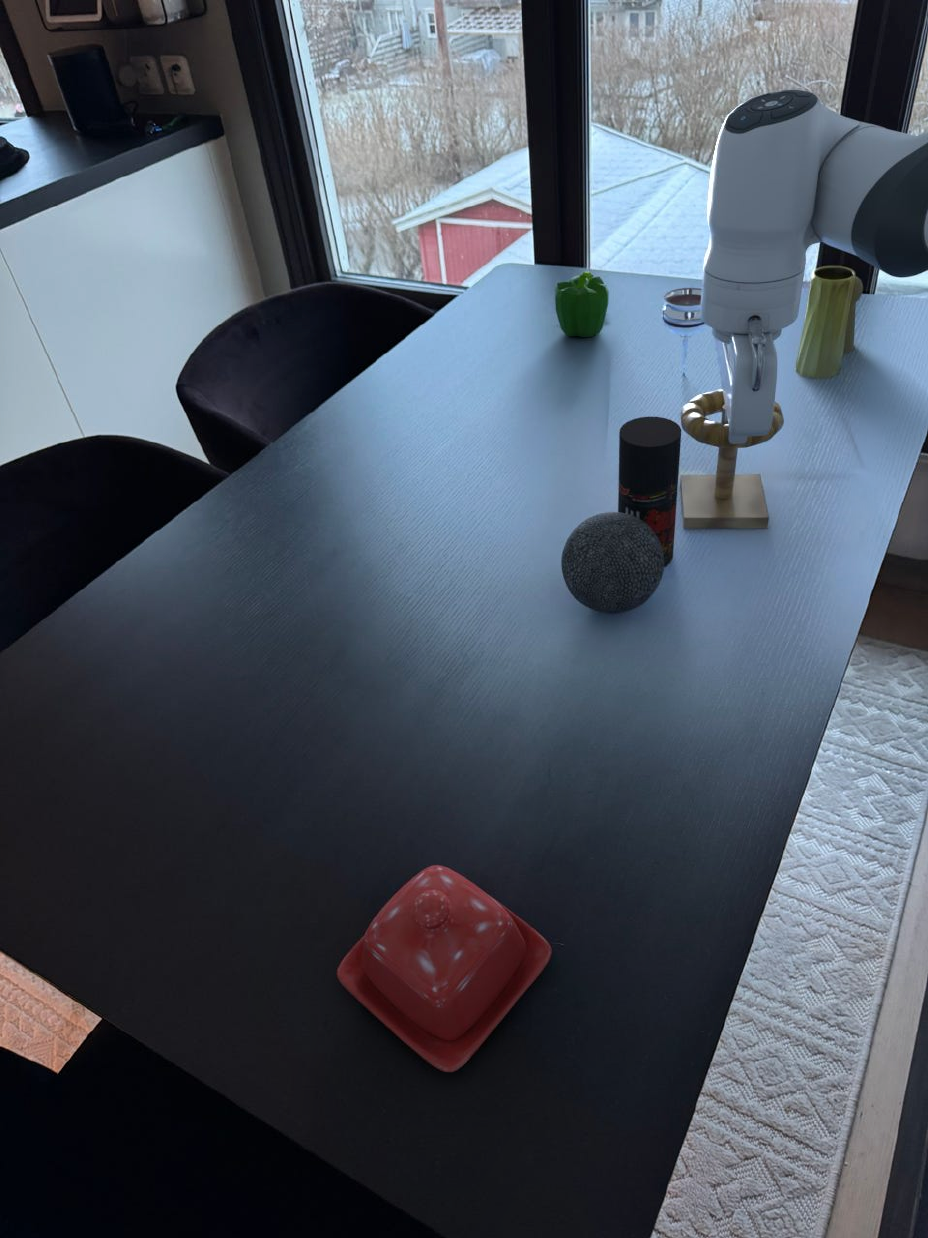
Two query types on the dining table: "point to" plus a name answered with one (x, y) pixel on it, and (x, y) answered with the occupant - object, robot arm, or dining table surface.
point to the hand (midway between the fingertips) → (735, 431)
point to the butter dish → (443, 965)
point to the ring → (715, 431)
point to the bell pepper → (581, 305)
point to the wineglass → (683, 315)
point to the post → (723, 497)
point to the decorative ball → (612, 562)
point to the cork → (852, 316)
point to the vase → (825, 322)
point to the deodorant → (650, 475)
